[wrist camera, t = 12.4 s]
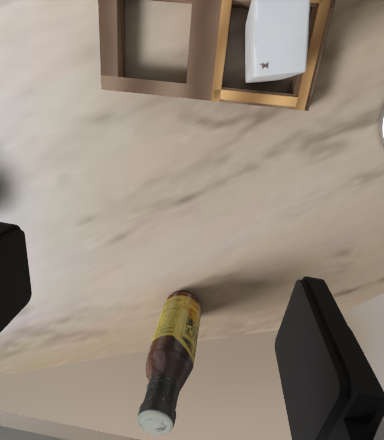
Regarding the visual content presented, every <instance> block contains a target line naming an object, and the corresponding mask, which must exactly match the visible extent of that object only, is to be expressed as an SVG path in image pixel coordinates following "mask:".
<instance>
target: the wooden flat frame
mask: <svg viewBox="0 0 384 440" xmlns="http://www.w3.org/2000/svg"><path fill="white" fill-rule="evenodd" d="M154 1H166V2H179V3H191V4H192V14H191V27H190V41H189V54H188V67H187V80H186V84H185V83H175V82H165V81H155V80H145V79H135V78H125V0H98V4H99V31H100V59H101V87H102V89H104V90H114V91H123V92H133V93H143V94H152V95H162V96H171V97H181V98H191V99H200V100H210V101H219V102H229V103H239V104H248V105H258V106H268V107H277V108H287V109H296V110H306V111H308V110H309V106H310V102H311V98H312V94H313V90H314V86H315V82H316V77H317V73H318V69H319V65H320V61H321V57H322V53H323V49H324V45H325V41H326V37H327V33H328V28H329V24H330V20H331V16H332V12H333V8H334V4H335V0H310V13H309V34H308V51H307V64H306V71H305V72H304V73H301V74H298V75H295V76H293V79H292V84H291V88H290V93H289V94H285V93H275V92H265V91H255V90H245V89H235V88H225V87H222V83H223V75H224V66H225V58H226V50H227V42H228V34H229V26H230V18H231V10H232V7H241V8H250V5H251V1H252V0H154Z"/></svg>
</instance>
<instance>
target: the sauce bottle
mask: <svg viewBox="0 0 384 440" xmlns="http://www.w3.org/2000/svg"><path fill="white" fill-rule="evenodd" d="M200 316H201V306H200V303H199V301H198V299H197V298H196V297H195V296H194V295H192V294H190V293H187V292H176V293H173V294H172V295H170V296H169V297H168V299H167V301H166V303H165V305H164V308H163V310H162V313H161V316H160V319H159V322H158V325H157V328H156V331H155V334H154V337H153V340H152V343H151V346H150V352H149V355H148V357H147V361H146V374H147V378H148V380H149V383H148V386H147V392H146V396H145V399H144V402H143V403H142V404H141V406H140V410H139V413H138V418H137V420H138V423H139V425H140V427H141V428H142V429H143V430H145V431H147V432H148V433H151V434H155V435H163V434H166V433H168V432H170V431H171V430H172V429H173V426H174V423H175V419H176V411H175V409H176V404H177V398H178V395H179V392H180V390H181V388H182V387H183V385H184V383H185V381H186V380H187V378H188V376H189V374H190V373H191V371H192V369H193V363H194V357H195V352H196V345H197V337H198V330H199V323H200Z"/></svg>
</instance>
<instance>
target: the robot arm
mask: <svg viewBox="0 0 384 440" xmlns="http://www.w3.org/2000/svg"><path fill="white" fill-rule="evenodd" d="M379 133H380V138H381V142H382V144H383V146H384V106H383V109H382V112H381V117H380V122H379ZM30 298H31V284H30V275H29V267H28V258H27V250H26V242H25V234H24V232H23V231H22V230H21V229H20V227H19V226H18V225H14V224H8V223H3V222H0V332H1V331H2V330H3V329H4V328H5V327H6V326H7V325H8V324H9V323H10V322H11V321H12V319H13V318H14V317H15V316H16V315H17V314H18V313H19V312H20V311H21V310H22V309H23V308H24V307H25V306H26V305H27V303H28V302H29V300H30ZM275 352H276V357H277V362H278V367H279V373H280V378H281V384H282V389H283V394H284V399H285V404H286V410H287V414H288V420H289V425H290V431H291V436H292V440H384V392H383V389H382V387H381V385H380V384H379V382H378V380H377V378H376V376H375V374H374V372H373V370H372V368H371V366H370V364H369V363H368V361H367V359H366V357H365V355H364V353H363V351H362V349H361V348H360V345H359V344H358V342H357V340H356V338H355V336H354V334H353V332H352V331H351V329H350V328H349V327H348V325H347V323H346V321H345V319H344V318H343V315H342V314H341V312H340V310H339V308H338V306H337V304H336V302H335V300H334V298H333V296H332V294H331V292H330V291H329V289H328V287H327V285H326V283H325V281H324V280H322V279H317V278H311V277H306V276H305V277H304V278H303V279H302V280H297V282H296V284H295V287H294V289H293V292H292V295H291V298H290V301H289V303H288V306H287V309H286V312H285V315H284V317H283V320H282V323H281V326H280V329H279V331H278V334H277V337H276V341H275ZM0 440H139V439H134V438H129V437H124V436H119V435H115V434H110V433H105V432H100V431H96V430H91V429H86V428H81V427H76V426H71V425H66V424H61V423H57V422H52V421H47V420H42V419H37V418H33V417H28V416H23V415H18V414H13V413H8V412H3V411H0Z"/></svg>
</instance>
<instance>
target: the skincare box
mask: <svg viewBox="0 0 384 440" xmlns="http://www.w3.org/2000/svg"><path fill="white" fill-rule="evenodd" d="M309 13H310V0H252V1H251V5H250V9H249V13H248V17H247V21H246V25H245V82H246V83H254V82H266V81H274V80H282V79H285V78H288V77H291V76H295V75H298V74H301V73H304V72H305V71H306V64H307V51H308V34H309Z"/></svg>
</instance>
